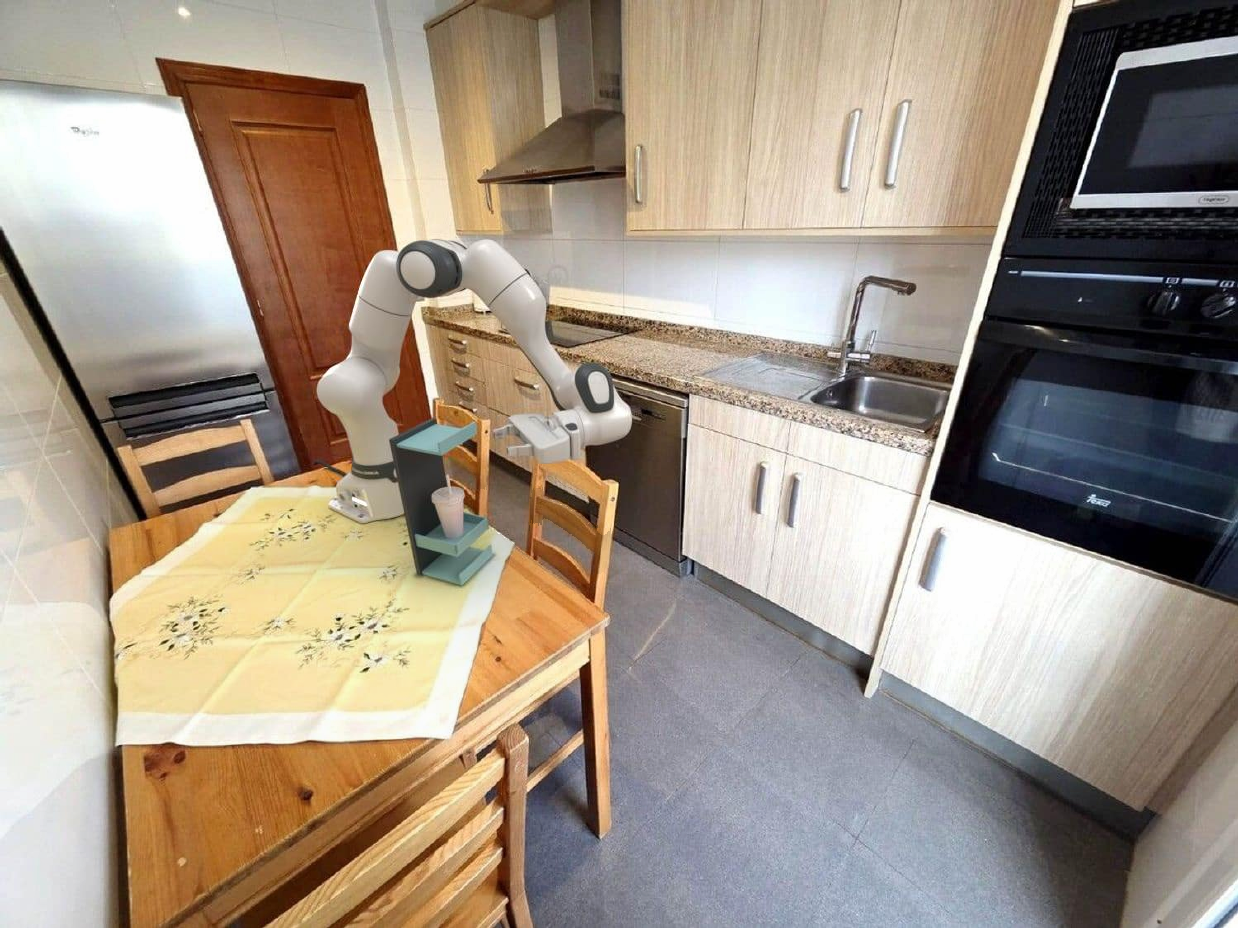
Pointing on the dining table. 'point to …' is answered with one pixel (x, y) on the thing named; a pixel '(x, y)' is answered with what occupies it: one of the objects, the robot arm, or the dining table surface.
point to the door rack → (417, 482)
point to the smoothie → (450, 509)
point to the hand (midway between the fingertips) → (500, 442)
